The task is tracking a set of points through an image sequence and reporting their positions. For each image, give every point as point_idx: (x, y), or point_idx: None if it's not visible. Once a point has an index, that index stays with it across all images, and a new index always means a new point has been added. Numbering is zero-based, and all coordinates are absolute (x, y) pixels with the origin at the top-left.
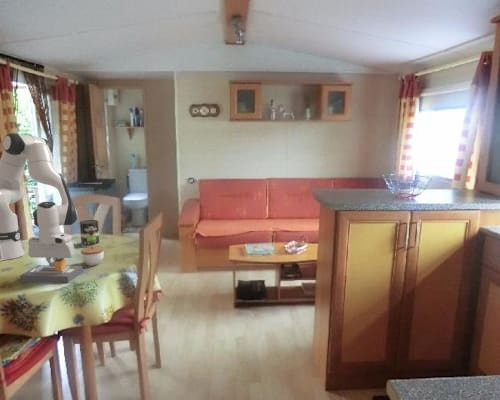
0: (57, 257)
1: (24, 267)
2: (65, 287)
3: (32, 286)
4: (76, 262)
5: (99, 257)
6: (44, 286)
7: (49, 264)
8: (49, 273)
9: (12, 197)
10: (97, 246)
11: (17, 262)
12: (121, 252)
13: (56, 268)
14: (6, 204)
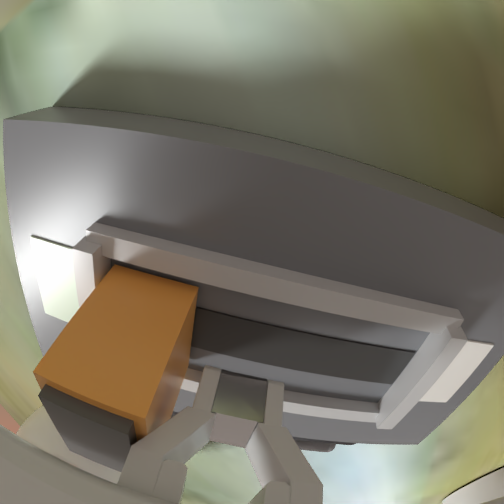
0: (47, 463)
1: (469, 435)
2: (46, 4)
3: (412, 52)
4: (200, 457)
5: (24, 421)
6: (265, 15)
7: (275, 407)
8: (265, 258)
9: None
10: None
11: (480, 462)
12: None
13: (158, 313)
14: None
